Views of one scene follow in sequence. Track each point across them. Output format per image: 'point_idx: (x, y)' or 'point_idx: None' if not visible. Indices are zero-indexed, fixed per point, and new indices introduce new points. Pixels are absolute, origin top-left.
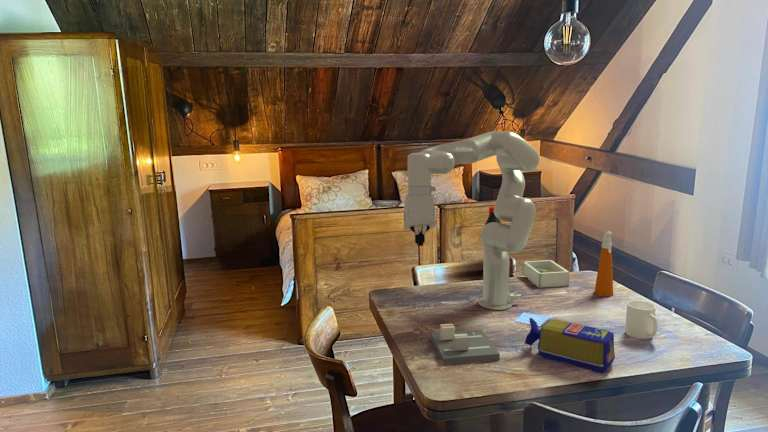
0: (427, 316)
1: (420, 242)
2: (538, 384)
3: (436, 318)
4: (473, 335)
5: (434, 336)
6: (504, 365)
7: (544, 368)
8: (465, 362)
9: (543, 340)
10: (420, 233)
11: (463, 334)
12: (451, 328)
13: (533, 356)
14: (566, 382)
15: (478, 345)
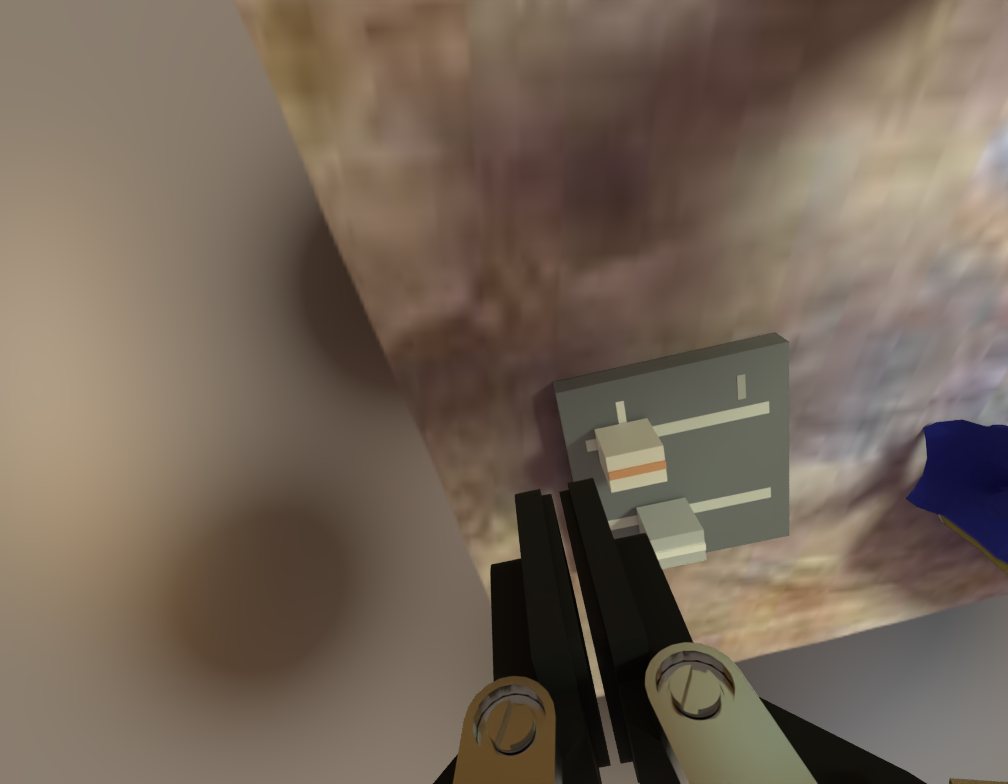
0: (539, 100)
1: (584, 641)
2: (835, 628)
3: (589, 131)
4: (735, 404)
5: (569, 423)
6: (781, 548)
7: (895, 555)
8: None
9: (977, 547)
10: (621, 700)
11: (691, 539)
12: (651, 481)
13: (901, 489)
14: (915, 614)
15: (732, 485)
